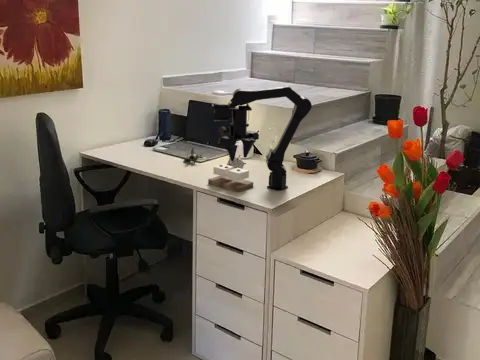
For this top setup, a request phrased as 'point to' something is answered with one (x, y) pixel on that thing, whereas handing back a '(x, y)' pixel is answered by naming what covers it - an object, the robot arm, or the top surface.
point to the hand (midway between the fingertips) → (238, 159)
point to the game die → (236, 162)
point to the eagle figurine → (192, 156)
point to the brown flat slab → (230, 183)
